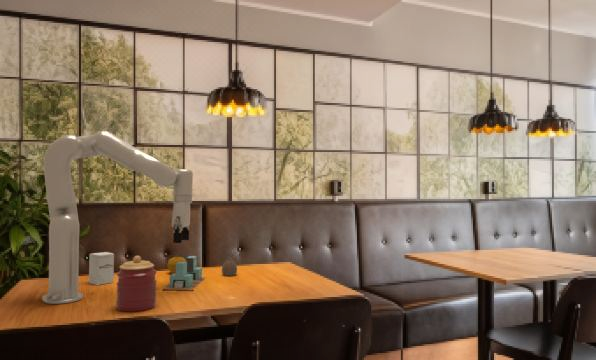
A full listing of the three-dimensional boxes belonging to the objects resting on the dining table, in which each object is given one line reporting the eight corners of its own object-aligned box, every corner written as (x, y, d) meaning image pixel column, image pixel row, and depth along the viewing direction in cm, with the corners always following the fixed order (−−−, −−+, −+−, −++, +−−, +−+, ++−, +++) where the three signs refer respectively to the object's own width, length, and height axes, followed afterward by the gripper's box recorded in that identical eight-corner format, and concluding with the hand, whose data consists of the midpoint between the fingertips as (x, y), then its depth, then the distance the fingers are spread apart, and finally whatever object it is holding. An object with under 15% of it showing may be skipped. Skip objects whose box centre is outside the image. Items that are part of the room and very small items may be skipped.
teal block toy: (169, 287, 177) (169, 263, 177) (174, 284, 182) (174, 261, 182) (189, 287, 176) (189, 263, 176) (193, 284, 182) (193, 261, 182)
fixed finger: (201, 277, 196) (202, 256, 196) (198, 280, 190) (198, 258, 190) (184, 277, 196) (184, 255, 196) (180, 279, 190) (180, 257, 191)
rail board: (192, 291, 174) (192, 282, 174) (162, 290, 175) (162, 282, 175) (206, 279, 196) (206, 271, 196) (180, 279, 197) (180, 271, 197)
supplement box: (97, 285, 183) (97, 255, 183) (88, 283, 187) (88, 253, 187) (114, 282, 189) (114, 253, 189) (104, 280, 193) (105, 251, 193)
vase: (238, 276, 205) (238, 257, 205) (234, 279, 198) (235, 259, 198) (224, 275, 205) (224, 256, 206) (219, 278, 199) (220, 259, 199)
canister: (160, 301, 158) (161, 252, 159) (149, 312, 145) (150, 258, 146) (124, 301, 158) (124, 252, 158) (110, 312, 145) (110, 258, 145)
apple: (165, 274, 207) (165, 255, 207) (184, 272, 211) (185, 254, 211) (168, 278, 199) (168, 258, 199) (188, 276, 203) (188, 257, 203)
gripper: (180, 198, 189) (178, 238, 188) (166, 199, 171) (164, 243, 171) (197, 199, 188) (196, 239, 188) (185, 200, 171) (183, 244, 171)
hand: (181, 241), depth 179 cm, fingers open, 9 cm apart
